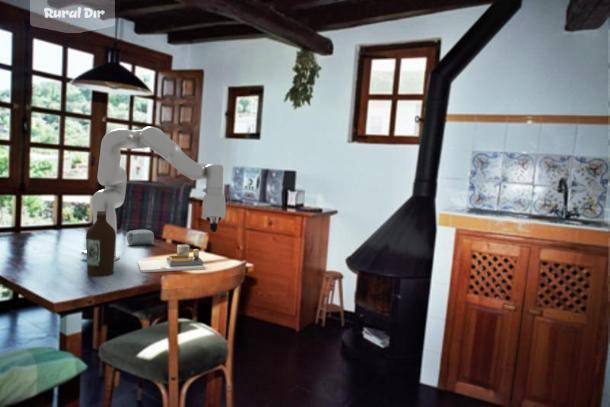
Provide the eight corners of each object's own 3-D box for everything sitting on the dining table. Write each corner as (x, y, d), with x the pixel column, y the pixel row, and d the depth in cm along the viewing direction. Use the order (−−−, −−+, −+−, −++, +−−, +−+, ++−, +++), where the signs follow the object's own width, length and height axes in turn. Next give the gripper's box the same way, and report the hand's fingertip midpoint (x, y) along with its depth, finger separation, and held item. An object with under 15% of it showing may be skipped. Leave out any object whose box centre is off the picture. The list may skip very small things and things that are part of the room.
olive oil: (101, 268, 175) (102, 209, 173) (121, 272, 172) (122, 211, 169) (79, 274, 166) (79, 211, 163) (99, 278, 162) (100, 213, 159)
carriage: (170, 266, 181) (170, 253, 181) (166, 260, 190) (167, 248, 190) (202, 264, 188) (203, 251, 187) (197, 259, 197) (198, 247, 196)
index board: (140, 272, 173) (141, 269, 173) (137, 263, 188) (137, 260, 188) (204, 268, 185) (204, 266, 185) (196, 260, 199) (196, 258, 199)
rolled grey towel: (126, 241, 218) (130, 223, 222) (123, 246, 226) (127, 229, 230) (153, 246, 224) (157, 229, 228) (149, 251, 231) (153, 234, 236)
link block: (178, 259, 200) (178, 246, 200) (176, 257, 204) (177, 244, 204) (189, 258, 202) (189, 246, 202) (187, 256, 207) (187, 244, 206)
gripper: (199, 192, 185) (198, 233, 186) (232, 192, 191) (231, 232, 193) (195, 190, 191) (195, 230, 193) (228, 191, 198) (227, 229, 200)
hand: (213, 231), depth 193 cm, fingers closed
